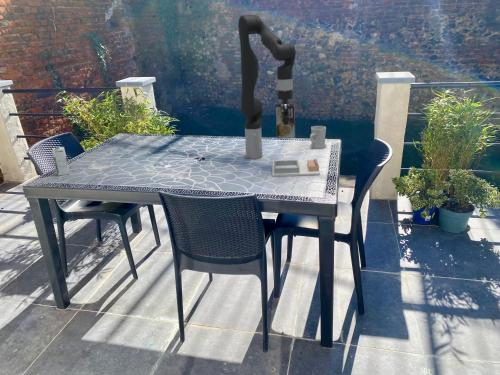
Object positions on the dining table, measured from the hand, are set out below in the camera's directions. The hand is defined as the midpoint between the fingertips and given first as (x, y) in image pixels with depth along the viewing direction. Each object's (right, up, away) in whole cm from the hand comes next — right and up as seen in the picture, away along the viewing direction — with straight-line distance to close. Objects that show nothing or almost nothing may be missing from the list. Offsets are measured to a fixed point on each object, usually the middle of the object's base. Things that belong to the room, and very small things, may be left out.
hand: (285, 122), depth 197 cm
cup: (+24, -8, +44) cm, 51 cm away
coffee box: (0, -7, +3) cm, 8 cm away
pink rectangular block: (+15, -22, +8) cm, 28 cm away
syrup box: (-121, -24, +24) cm, 125 cm away
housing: (+6, -23, +9) cm, 26 cm away
